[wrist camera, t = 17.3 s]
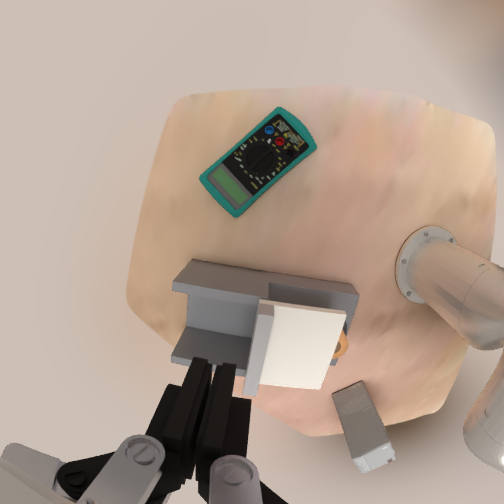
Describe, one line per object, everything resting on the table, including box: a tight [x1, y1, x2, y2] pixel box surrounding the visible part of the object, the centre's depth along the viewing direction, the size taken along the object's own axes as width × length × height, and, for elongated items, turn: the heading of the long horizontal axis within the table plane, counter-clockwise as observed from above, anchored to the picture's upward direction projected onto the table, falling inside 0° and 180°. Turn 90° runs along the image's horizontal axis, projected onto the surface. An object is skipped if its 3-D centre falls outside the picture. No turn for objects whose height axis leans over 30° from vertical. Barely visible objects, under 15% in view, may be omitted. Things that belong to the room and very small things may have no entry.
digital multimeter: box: [199, 107, 317, 218], centre depth 34 cm, size 7×15×3 cm, turn 132°
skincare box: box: [332, 381, 396, 474], centre depth 37 cm, size 8×7×16 cm
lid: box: [243, 299, 347, 396], centre depth 30 cm, size 10×12×4 cm
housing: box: [171, 259, 360, 377], centre depth 36 cm, size 24×12×9 cm, turn 81°
